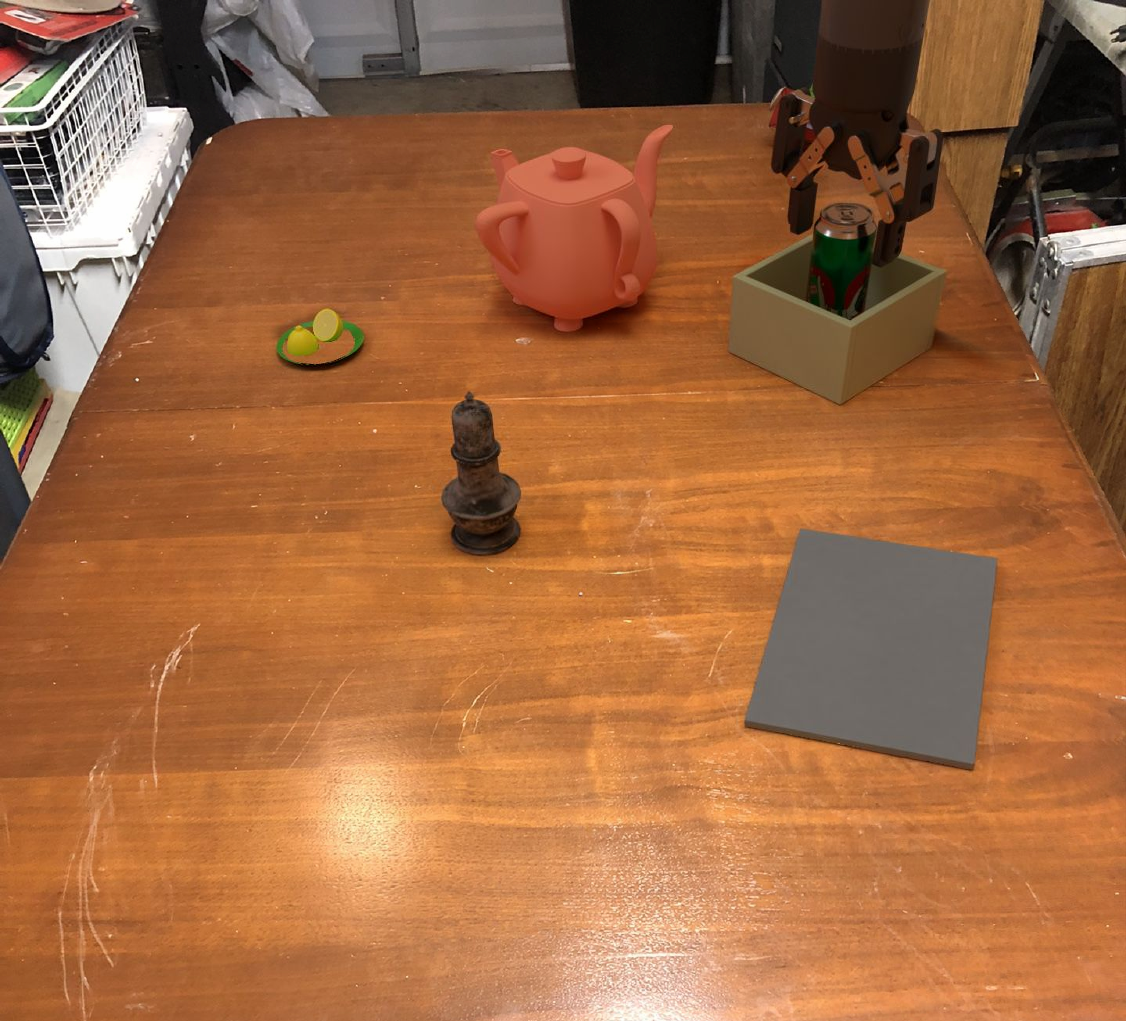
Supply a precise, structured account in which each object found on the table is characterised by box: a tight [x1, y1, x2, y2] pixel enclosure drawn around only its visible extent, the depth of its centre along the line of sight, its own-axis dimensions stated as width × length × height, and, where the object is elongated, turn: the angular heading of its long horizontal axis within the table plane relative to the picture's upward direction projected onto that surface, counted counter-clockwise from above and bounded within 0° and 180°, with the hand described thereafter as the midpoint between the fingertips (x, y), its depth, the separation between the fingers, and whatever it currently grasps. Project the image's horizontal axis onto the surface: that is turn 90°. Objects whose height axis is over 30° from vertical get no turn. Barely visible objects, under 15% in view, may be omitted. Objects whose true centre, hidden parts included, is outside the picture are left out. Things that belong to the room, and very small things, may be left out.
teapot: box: [475, 124, 674, 333], centre depth 107 cm, size 16×17×14 cm
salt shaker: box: [440, 390, 522, 556], centre depth 84 cm, size 6×6×12 cm
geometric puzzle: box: [767, 79, 816, 152], centre depth 130 cm, size 7×7×8 cm
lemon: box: [276, 308, 365, 366], centre depth 107 cm, size 8×8×3 cm
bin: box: [727, 233, 948, 406], centre depth 101 cm, size 13×13×7 cm
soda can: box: [805, 201, 878, 321], centre depth 99 cm, size 5×5×12 cm
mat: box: [743, 528, 999, 771], centre depth 79 cm, size 20×14×1 cm
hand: (840, 246), depth 97 cm, fingers open, 8 cm apart
